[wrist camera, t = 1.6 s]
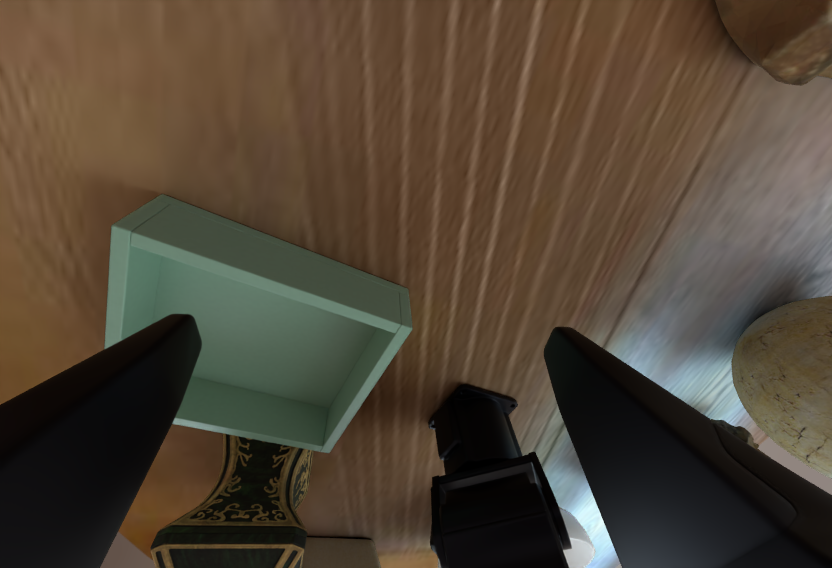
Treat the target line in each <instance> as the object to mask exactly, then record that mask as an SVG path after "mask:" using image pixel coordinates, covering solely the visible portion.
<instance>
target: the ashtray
mask: <svg viewBox="0 0 832 568" xmlns="http://www.w3.org/2000/svg"><path fill="white" fill-rule="evenodd" d="M715 2H716V5H717V8H718V11H719V14H720V17H721V20H722V22H723V24H724V26H725V28H726V30H727V31H728V33H729V35H730V36H731V37H732V39H733V40H734V42H735V43H736V44H737V45H738V47H739V48H740V49H741V50H742V52H743V53H744V54H745V55H746V56H747V57H748V58H749V59H750V60H751V61H752V62H753V63H754V64H755V65H758V66H760V67H762V68H763V69H764V70H766V71H767V72H768V73H769V74H770V75H771V76H772V77H773V78H774V79H775V80H776V81H779V82H783V83H786V84H792V85H801V86H802V85H804V84H806V83H808V82H809V81H810V80H812V79H813V78H814V77H816V76H823V77H829V78H832V0H715Z"/></svg>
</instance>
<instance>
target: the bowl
mask: <svg viewBox="0 0 832 568" xmlns="http://www.w3.org/2000/svg"><path fill="white" fill-rule="evenodd" d="M558 507H559V506H558ZM559 509H560V512H561V515H562V517H563V520H564V523H565V526H566V529H567V532H568V535H569V538H570V541H571V545H572V549H568V550H563V552H564V555H565V557H566V560H567V563H568V566H569V568H585V567H586V566H587V565H588V564H589V563H590V562H591V561H592V560H593V558H594V556H595V548H594V545H593V544H592V542H591V540H590V538H589V536H588V534H587V533H586V531H585V529H584V528H583V527H582V526H581V524H580V523H579V522H578V521H577V519H576V518H575V517H574V516H573V515H572V514H571V513H570V512H567V511H566V510H564V509H562V508H560V507H559ZM438 568H441V565H440V562H439V559H438Z"/></svg>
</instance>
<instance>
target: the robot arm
mask: <svg viewBox="0 0 832 568" xmlns="http://www.w3.org/2000/svg"><path fill="white" fill-rule="evenodd" d="M201 348H202V340H201V336H200V333H199V330H198V327H197V324H196V321H195V318H194V317H193V316H192V315H190V314H170V315H168V316H166V317H164V318H162V319H161V320H159V321H157V322H155V323H153V324H151V325H149V326H147V327H146V328H144V329H142V330H140V331H138V332H136V333H134V334H132V335H131V336H129V337H127V338H125V339H123V340H121V341H119V342H117V343H116V344H114V345H112V346H110V347H108V348H106V349H104V350H103V351H101V352H99V353H97V354H95V355H93V356H91V357H89V358H88V359H86V360H84V361H82V362H80V363H78V364H76V365H74V366H73V367H71V368H69V369H67V370H65V371H63V372H61V373H59V374H58V375H56V376H54V377H52V378H50V379H48V380H46V381H44V382H43V383H41V384H39V385H37V386H35V387H33V388H31V389H29V390H28V391H26V392H24V393H22V394H20V395H18V396H16V397H14V398H12V399H11V400H9V401H7V402H5V403H3V404H1V405H0V568H100V566H101V564H102V562H103V560H104V558H105V556H106V554H107V552H108V550H109V548H110V546H111V544H112V542H113V540H114V538H115V536H116V534H117V532H118V530H119V528H120V526H121V524H122V522H123V521H124V519H125V517H126V515H127V513H128V511H129V509H130V507H131V505H132V503H133V501H134V499H135V497H136V495H137V493H138V491H139V489H140V487H141V485H142V483H143V481H144V479H145V477H146V475H147V473H148V471H149V469H150V467H151V465H152V463H153V461H154V459H155V457H156V455H157V453H158V451H159V449H160V447H161V445H162V443H163V441H164V439H165V437H166V435H167V433H168V431H169V429H170V427H171V425H172V423H173V421H174V419H175V417H176V414H177V412H178V410H179V408H180V405H181V403H182V400H183V398H184V395H185V392H186V390H187V387H188V384H189V381H190V379H191V376H192V373H193V371H194V368H195V365H196V362H197V360H198V357H199V354H200V351H201ZM544 359H545V362H546V366H547V369H548V373H549V376H550V380H551V383H552V387H553V390H554V394H555V397H556V401H557V404H558V407H559V410H560V413H561V415H562V418H563V421H564V423H565V426H566V428H567V431H568V433H569V436H570V438H571V441H572V443H573V446H574V448H575V451H576V453H577V456H578V458H579V461H580V463H581V466H582V468H583V471H584V473H585V476H586V478H587V481H588V483H589V486H590V488H591V491H592V493H593V496H594V498H595V501H596V503H597V506H598V508H599V511H600V513H601V516H602V518H603V521H604V523H605V526H606V528H607V531H608V533H609V536H610V538H611V541H612V543H613V546H614V548H615V551H616V553H617V556H618V558H619V561H620V563H621V566H622V568H832V495H830V494H829V493H827V492H825V491H824V490H822V489H820V488H819V487H817V486H815V485H814V484H812V483H810V482H809V481H807V480H805V479H804V478H802V477H800V476H799V475H797V474H796V473H794V472H792V471H790V470H789V469H787V468H786V467H784V466H782V465H781V464H779V463H777V462H776V461H774V460H773V459H771V458H769V457H768V456H766V455H764V454H763V453H761V452H760V451H758V450H757V449H755V448H754V447H752V446H750V445H749V444H747V443H746V442H744V441H743V440H741V439H740V438H738V437H736V436H735V435H733V434H732V433H730V432H729V431H727V430H726V429H724V428H723V427H721V426H720V425H718V424H717V423H715V422H712V421H711V420H710V419H709V418H708V417H706V416H705V415H703V414H702V413H700V412H698V411H697V410H695V409H694V408H692V407H691V406H689V405H688V404H686V403H685V402H683V401H682V400H680V399H679V398H677V397H676V396H674V395H673V394H671V393H670V392H668V391H667V390H665V389H664V388H662V387H661V386H659V385H658V384H656V383H655V382H653V381H652V380H650V379H648V378H647V377H645V376H644V375H642V374H641V373H639V372H638V371H636V370H635V369H633V368H632V367H630V366H629V365H627V364H626V363H624V362H623V361H621V360H620V359H618V358H617V357H615V356H614V355H612V354H611V353H609V352H608V351H606V350H605V349H603V348H602V347H600V346H599V345H597V344H596V343H594V342H593V341H591V340H589V339H588V338H586V337H585V336H583V335H582V334H580V333H579V332H577V331H576V330H574V329H573V328H571V327H555V328H554V329H553V331H552V333H551V335H550V337H549V339H548V342H547V344H546V346H545V348H544ZM517 406H518V404H517V402H516V400H515V399H512V398H509V397H505V396H502V395H499V394H495V393H492V392H489V391H485V390H482V389H479V388H475V387H472V386H469V385H465V384H464V385H460V386H459V387H458V388H457V389H456V390H455V391H454V393H453V394H452V395H451V396H450V397H449V398H448V400H447V401H446V402H445V403H444V404H443V405H442V407H441V408H440V409H439V410H438V411H437V412H436V413H435V415H434V416H433V417H432V418H431V419H430V420H429V422H428V425H429V428H430V429H434V430H435V432H436V439H437V446H438V453H439V457H440V459H441V460H443V461H444V468H445V474H446V475H443V476H439V475H438V476H434V477H432V487H431V506H432V526H431V536H430V546H431V549H432V550H433V551H434V552H435V553H436V554H437V556H438V559H439V562H440V565H441V568H569V566H568V563H567V560H566V557H565V555H564V552H563V550H568V549H572V545H571V541H570V538H569V535H568V532H567V529H566V526H565V523H564V520H563V517H562V515H561V512H560V509H559V507H558V504H557V502H556V499H555V497H554V494H553V492H552V490H551V487H550V485H549V483H548V480H547V478H546V476H545V473H544V471H543V469H542V466H541V464H540V462H539V459H538V457H537V455H536V452H531V453H529V454H528V455H524V456H522V453H521V450H520V447H519V444H518V441H517V439H516V436H515V433H514V430H513V427H512V424H511V422H510V419H509V416H508V415H509V414H510V413H511V412H512V411H513V410H514V409H515V408H516V407H517Z"/></svg>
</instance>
